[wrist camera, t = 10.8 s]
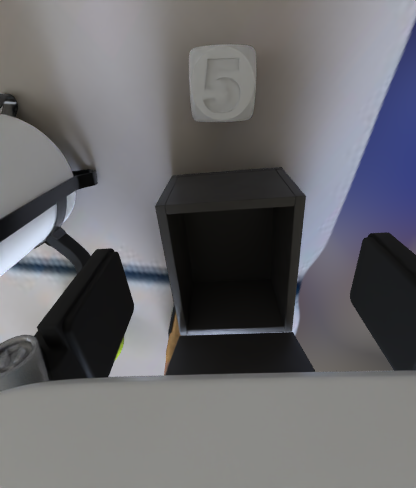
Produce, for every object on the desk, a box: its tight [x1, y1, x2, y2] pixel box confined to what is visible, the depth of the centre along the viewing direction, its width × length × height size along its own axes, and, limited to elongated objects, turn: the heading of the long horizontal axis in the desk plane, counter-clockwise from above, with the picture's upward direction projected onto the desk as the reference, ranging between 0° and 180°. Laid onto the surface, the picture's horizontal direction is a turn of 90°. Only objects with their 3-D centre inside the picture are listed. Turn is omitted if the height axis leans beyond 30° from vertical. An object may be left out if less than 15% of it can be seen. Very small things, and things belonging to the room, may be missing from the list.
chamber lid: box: [165, 332, 315, 376], centre depth 20 cm, size 15×12×5 cm
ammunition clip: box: [164, 306, 187, 376], centre depth 35 cm, size 11×2×12 cm, turn 177°
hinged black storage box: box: [155, 167, 306, 335], centre depth 28 cm, size 15×12×9 cm
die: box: [189, 44, 256, 122], centre depth 22 cm, size 5×5×5 cm
